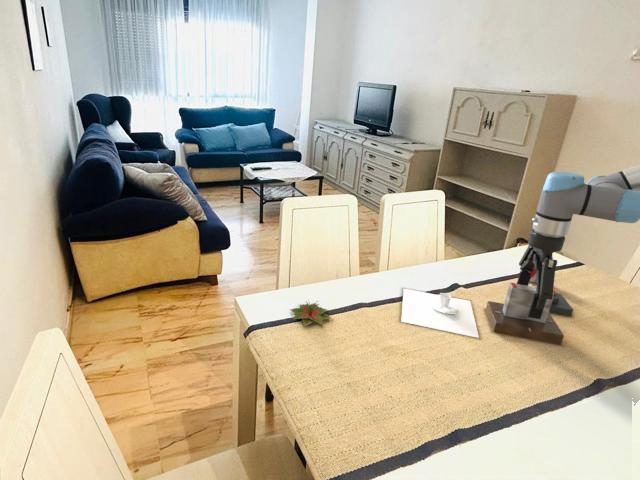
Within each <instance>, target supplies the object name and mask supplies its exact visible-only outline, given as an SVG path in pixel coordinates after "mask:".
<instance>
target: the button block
mask: <svg viewBox="0 0 640 480" xmlns="http://www.w3.org/2000/svg"><path fill="white" fill-rule="evenodd" d="M549 313H550V314H554V315H561V316H566V317H567V316H568V317H572V316H573V313H574V309H573V308H572V306H571V304H569V302H568V300H566V298H565V296H564V295H563V293H559V292H557V291H555V294H554V297H553V300H552V304H551V307H550V310H549Z"/></svg>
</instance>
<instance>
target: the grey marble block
mask: <svg viewBox="0 0 640 480" xmlns="http://www.w3.org/2000/svg"><path fill="white" fill-rule="evenodd" d="M535 293H536V286H532V285H528V286H526V285H520V284H517V283H516V282H510V283H509V285H508V288H507V292H506V296H505V300H504V302H503V304H504V307H503V310H502V311H503V313H504V316H508V317H514V318H520V319H525V320H531V321H536V322H542V323H545V322H546V319H547V316H548V313H549V310H550V307H551V304H552V300H553V297H554V293H553V297H552V300H549V299H547V300H546V303H545V306H544V309H543V312H542V315H541V318H540V319H535V318H530V317H528V313H529V310H530V306H531V303H532V300H533V297H534V296H533V294H535Z"/></svg>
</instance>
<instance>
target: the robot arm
mask: <svg viewBox="0 0 640 480" xmlns="http://www.w3.org/2000/svg"><path fill="white" fill-rule="evenodd" d="M574 215H577V216H583V217H588V218H593V219H594V218H595V219H601V220H606V221H611V222H615V223H625V224H636V223H637V222H638V221H640V164H637V165H634V166H631V167H628V168H625V169H622V170H621V171H618V172H614V173H611V174H608V175H596V176H593V177H592V178H590V179H588V181H587V182H585V177H584V176H583V175H582V174H579V173H574V172H568V171H552V172H549V173H548V174H547V175H546V179H545V181H544V185H543V187H542V190H541V194H540V197H539V200H538V204H537V208H536V211H535V215H534V217H532V218H531V222H533V223H532V226H531V228H532V229H531V230H530V232H529V236H528V239H527V243H528V245H527V248H526V249H525V251H524V253H523V255H522V256H521V259H520V260H519V262H518V265H519V266H520V267H519V273H518V278H517V281H516V284H520V285H526V286H529V284H530V282H529V281H530V278H531V273H530V272H533V268H534V269H535V271H536V272H537V280H536V283H535V284H536V286H535V287H536V293H535V294H533V296H534V297H533V300H532V303H531V306H530V310H529V313H528V317H530V318H535V319H540V318H541V315H542V312H543V309H544V306H545V303H546V300H547V299H549V300H552V297H553V288H555V287H554V285H555V276H556V269H557V265H558V260H557V259H553V258H554V257H553V253H556V252H561V251H562V250H563V248H564V244H565V241H566V237H565V236H567V235H568V233H569V230H570V227H571V223H572V219H573V216H574Z"/></svg>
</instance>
